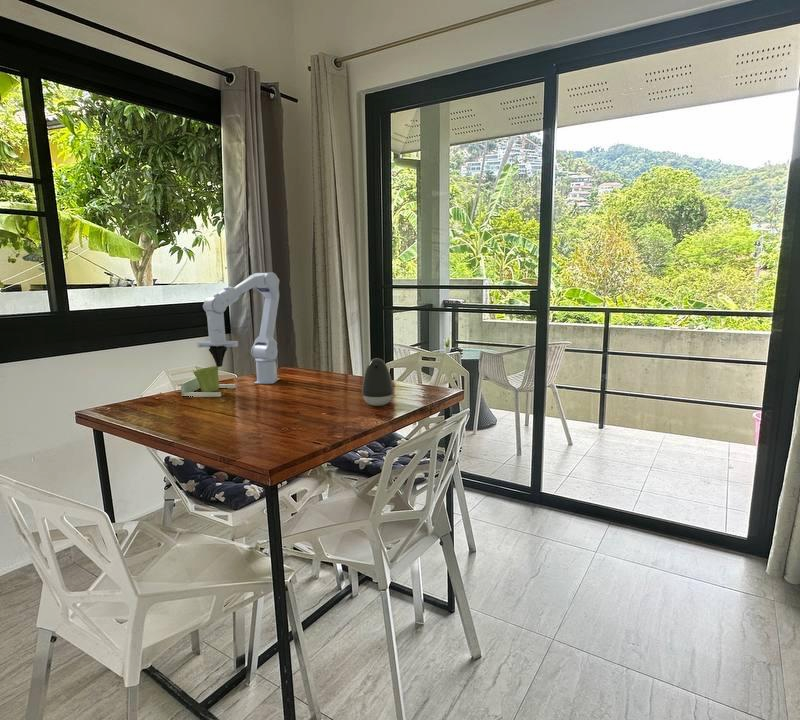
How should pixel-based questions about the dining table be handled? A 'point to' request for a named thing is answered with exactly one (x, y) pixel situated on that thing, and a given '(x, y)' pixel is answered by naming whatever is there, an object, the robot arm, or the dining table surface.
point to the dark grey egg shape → (377, 383)
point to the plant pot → (207, 378)
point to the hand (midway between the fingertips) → (219, 366)
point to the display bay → (193, 385)
